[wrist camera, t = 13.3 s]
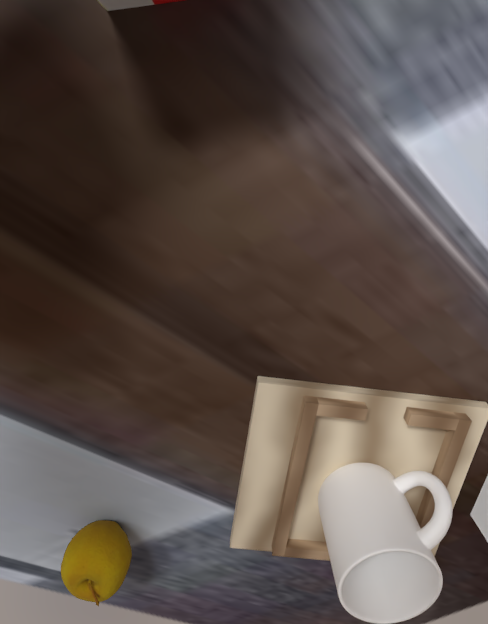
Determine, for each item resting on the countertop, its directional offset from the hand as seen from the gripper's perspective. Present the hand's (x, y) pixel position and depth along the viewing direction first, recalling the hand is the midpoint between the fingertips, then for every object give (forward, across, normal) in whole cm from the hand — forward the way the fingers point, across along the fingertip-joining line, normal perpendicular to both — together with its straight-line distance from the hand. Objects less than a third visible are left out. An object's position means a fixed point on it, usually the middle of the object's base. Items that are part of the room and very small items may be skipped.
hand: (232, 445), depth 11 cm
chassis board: (+27, +16, -23) cm, 39 cm away
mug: (+26, +18, -23) cm, 39 cm away
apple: (+28, -8, -34) cm, 44 cm away
